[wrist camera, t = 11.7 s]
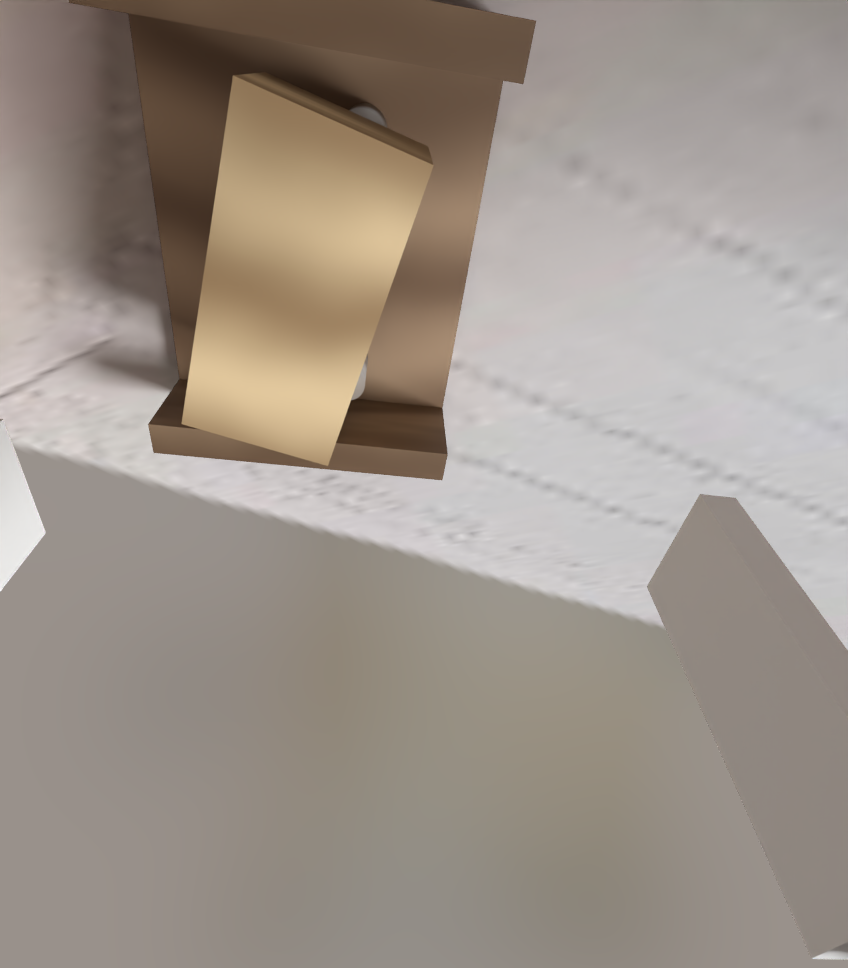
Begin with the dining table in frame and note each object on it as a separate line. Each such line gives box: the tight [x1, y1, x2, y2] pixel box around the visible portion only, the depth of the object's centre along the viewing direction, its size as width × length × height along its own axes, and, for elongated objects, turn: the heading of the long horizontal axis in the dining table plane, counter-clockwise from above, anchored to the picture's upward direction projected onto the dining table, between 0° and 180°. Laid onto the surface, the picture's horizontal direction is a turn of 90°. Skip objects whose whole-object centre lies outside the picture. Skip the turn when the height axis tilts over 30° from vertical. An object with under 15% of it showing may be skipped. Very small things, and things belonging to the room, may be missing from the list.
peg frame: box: [69, 0, 536, 480], centre depth 24 cm, size 18×14×6 cm
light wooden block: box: [182, 72, 434, 466], centre depth 21 cm, size 12×6×4 cm, turn 159°
